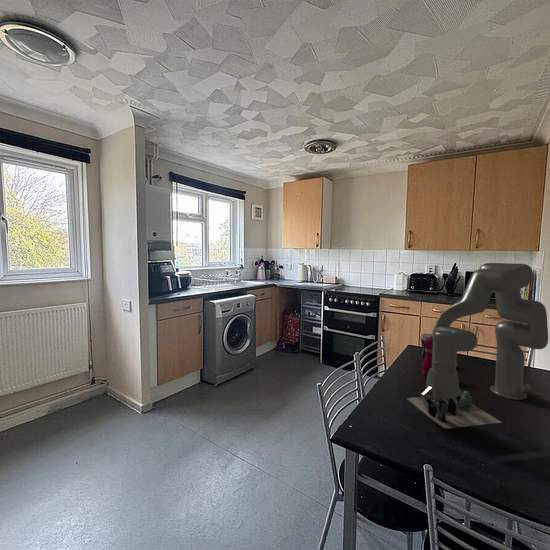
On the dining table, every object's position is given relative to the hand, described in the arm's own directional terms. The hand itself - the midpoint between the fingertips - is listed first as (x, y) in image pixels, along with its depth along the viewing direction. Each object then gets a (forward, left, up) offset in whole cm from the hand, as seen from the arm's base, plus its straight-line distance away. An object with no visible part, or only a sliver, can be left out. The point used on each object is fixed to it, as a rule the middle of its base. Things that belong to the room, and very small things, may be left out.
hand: (441, 414), depth 109 cm
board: (-9, -6, -3) cm, 11 cm away
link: (-10, -8, -2) cm, 13 cm away
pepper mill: (-25, -40, -3) cm, 47 cm away
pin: (0, 0, -2) cm, 2 cm away
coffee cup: (-37, -57, -3) cm, 68 cm away
